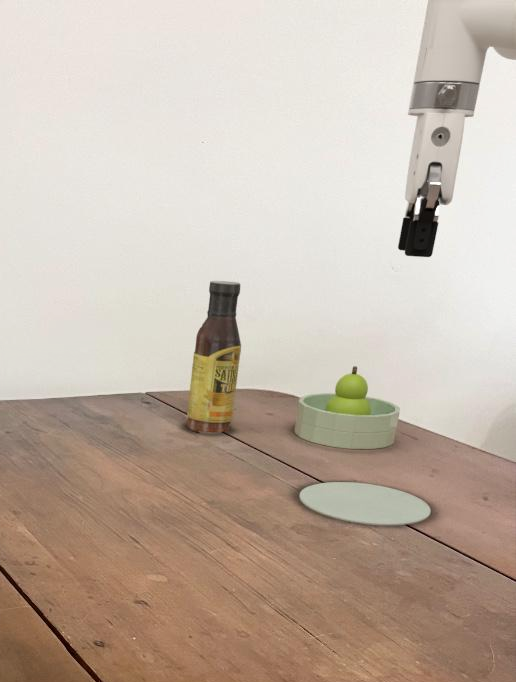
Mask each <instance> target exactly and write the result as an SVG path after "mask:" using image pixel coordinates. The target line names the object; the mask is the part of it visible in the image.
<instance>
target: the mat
mask: <svg viewBox="0 0 516 682" xmlns="http://www.w3.org/2000/svg"><path fill="white" fill-rule="evenodd" d="M299 501H301V503H302V504H303V505H304V506H305V507H307V509H308V508H309V509H310V510H312V511H314V512H316V513H319V514H321V515H324V516H326V517H330V518H333V519H336V520H341V521H346V522H350V523H356V524H363V525H373V526H406V525H412V524H417V523H421V522H423V521H425V520H427V519H428V518H430V515H431V512H432V510H431V507H430V506H429V504H428V503H427V502H426V501H424V500H423V499H421V498H419V497H417V496H415V495H413V494H410V493H408V492H405V491H403V490H399V489H395V488H392V487H387V486H383V485H377V484H373V483H364V482H354V481H353V482H352V481H332V482H331V481H329V482H320V483H314V484H311V485H308V486H306V487H304V488H303V489H302V490H301V491H300V492H299Z"/></svg>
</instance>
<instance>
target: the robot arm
mask: <svg viewBox="0 0 516 682" xmlns="http://www.w3.org/2000/svg"><path fill="white" fill-rule="evenodd" d="M424 16H425V17H424V21H423V28H422V33H421V39H420V45H419V51H418V56H417V63H416V66H415V72H414V78H413V84H412V90H411V95H410V100H409V105H408V111H407V115H408V116H414V117H417V118H416V121H415V122H416V124H415V128H414V133H413V139H412V145H411V151H410V156H409V162H408V167H407V168H408V169H407V175H406V184H405V190H404V191H405V193H404V199H405V201H406V202H407V205H406V209H405V213H404V217H403V219H402V223H401V229H400V234H399V239H398V245H397V248H398V250H399V251H404V255H405V256H407V257H417V258H419V257H420V258H430V257H432V255H433V252H434V248H435V242H436V238H437V234H438V233H437V232H438V228H439V217H440V207H441V205H443V206H448V205H450V204H451V202H452V201H453V197H454V190H455V184H456V179H457V174H458V173H457V172H458V168H459V162H460V155H461V149H462V144H463V138H464V129H465V119H466V118H472V117H473V118H474V115H475V109H476V105H477V101H478V95H479V90H480V86H481V82H482V81H481V79H482V75H483V71H484V65H485V60H486V55H487V52H488V49H489V48H493V49H494V51H495V52H496V53H497V54H498V55H499V56H500V57H502V58H505V59H507V60H512V61H516V0H427V4H426V11H425V15H424Z"/></svg>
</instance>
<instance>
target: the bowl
mask: <svg viewBox="0 0 516 682" xmlns="http://www.w3.org/2000/svg"><path fill="white" fill-rule="evenodd" d="M334 395H336V393H335V392H334V393H332V392H329V393H327V392H325V393H310V394H307V395H304V396H301V397H300V398H299V400H298V404H297V410H296V418H295V423H294V431H293V432H294V434H295V435H296V436H298V437H299V438H300V439H302V440H305V441H308V442H310V443H314V444H317V445H322V446H326V447H331V448H336V449H337V448H338V449H339V448H340V449H347V450H375V449H384V448H388V447H390V446H392V445H394V444H395V440H396V439H395V438H396V433H397V428H398V423H399V417H400V413H401V407H400V406H398V405H397V404H395V403H394V402H391V401H387V400H384V399H380V398H376V397H372V396H366V397H365V398H366V399H367V400H368V402H369V405H370V409H371V414H370V415H351V414H342V413H334V412H329V411H325V408H326V406H327V403H328V402H329V400H330V399H331V398H332V397H333V396H334Z"/></svg>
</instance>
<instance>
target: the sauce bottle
mask: <svg viewBox="0 0 516 682" xmlns="http://www.w3.org/2000/svg"><path fill="white" fill-rule="evenodd" d="M208 292H209V300H208V301H209V302H208V309H207V313H206V314H207V317H206V319H205V320H204V322H203V323H202V325H201V326H200V327H199V329H198V331H197V334H196V339H195V348H194V352H193V357H192V366H191V367H192V368H191V377H190V386H189V395H188V403H187V412H186V413H187V414H186V417H187V421H186V422H187V423H186V426H187V429H188V430H189V431H190V432H193V433H198V434H200V433H224V432H227V431H229V430H230V428H231V422H232V420H233V414H234V406H235V399H236V391H237V383H238V374H239V367H240V357H241V351H242V343H241V337H240V333H239V332H240V331H239V327H238V323H237V307H238V299H239V296H240V294H241V283H240V282H237V281H229V280H227V281H226V280H211V281H210V282H209V289H208Z"/></svg>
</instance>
